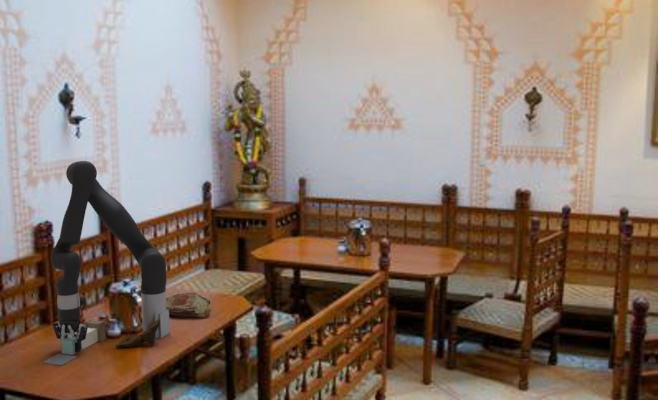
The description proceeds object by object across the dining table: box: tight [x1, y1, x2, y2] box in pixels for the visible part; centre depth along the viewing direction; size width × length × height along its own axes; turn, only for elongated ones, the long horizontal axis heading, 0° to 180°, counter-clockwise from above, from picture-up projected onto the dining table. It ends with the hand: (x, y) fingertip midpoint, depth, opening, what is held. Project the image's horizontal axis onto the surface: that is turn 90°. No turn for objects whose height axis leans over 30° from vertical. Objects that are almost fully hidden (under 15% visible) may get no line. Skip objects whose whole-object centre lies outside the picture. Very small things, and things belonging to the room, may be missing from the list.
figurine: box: [79, 295, 87, 325], centre depth 287 cm, size 6×6×12 cm
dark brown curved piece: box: [115, 319, 160, 348], centre depth 265 cm, size 8×10×15 cm
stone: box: [166, 292, 211, 319], centre depth 303 cm, size 24×18×6 cm
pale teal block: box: [60, 335, 83, 356], centre depth 259 cm, size 4×5×5 cm
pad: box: [42, 353, 78, 366], centre depth 252 cm, size 8×8×1 cm
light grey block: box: [81, 319, 107, 350], centre depth 268 cm, size 7×12×7 cm, turn 161°
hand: (71, 350), depth 260 cm, fingers closed on pale teal block, 4 cm apart
